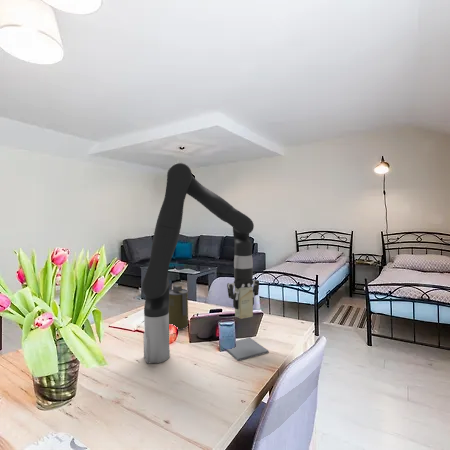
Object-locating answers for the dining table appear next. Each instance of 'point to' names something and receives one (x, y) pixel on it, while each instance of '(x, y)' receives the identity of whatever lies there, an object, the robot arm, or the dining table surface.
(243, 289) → the skincare box
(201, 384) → the dining table surface
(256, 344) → the mat
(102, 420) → the dining table surface
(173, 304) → the canister
